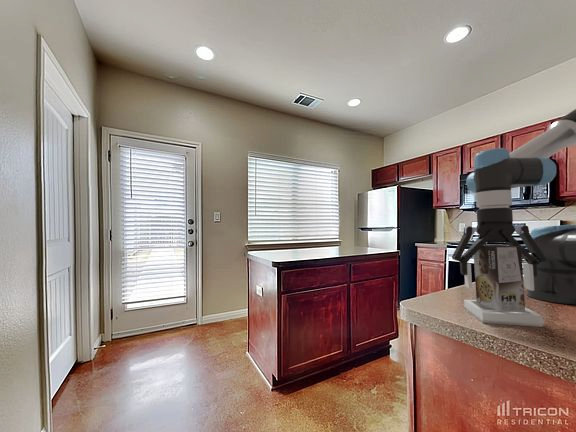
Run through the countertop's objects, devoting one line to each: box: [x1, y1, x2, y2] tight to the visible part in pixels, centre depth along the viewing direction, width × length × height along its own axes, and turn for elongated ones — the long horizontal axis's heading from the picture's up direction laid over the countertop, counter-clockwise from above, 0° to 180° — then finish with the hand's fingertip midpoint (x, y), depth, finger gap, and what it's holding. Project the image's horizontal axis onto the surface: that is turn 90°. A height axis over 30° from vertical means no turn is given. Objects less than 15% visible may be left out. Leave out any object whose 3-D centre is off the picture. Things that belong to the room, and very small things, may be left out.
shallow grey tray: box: [463, 299, 544, 328], centre depth 69 cm, size 12×12×2 cm
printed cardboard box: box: [473, 244, 526, 312], centre depth 70 cm, size 9×6×16 cm
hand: (498, 288), depth 70 cm, fingers open, 13 cm apart
